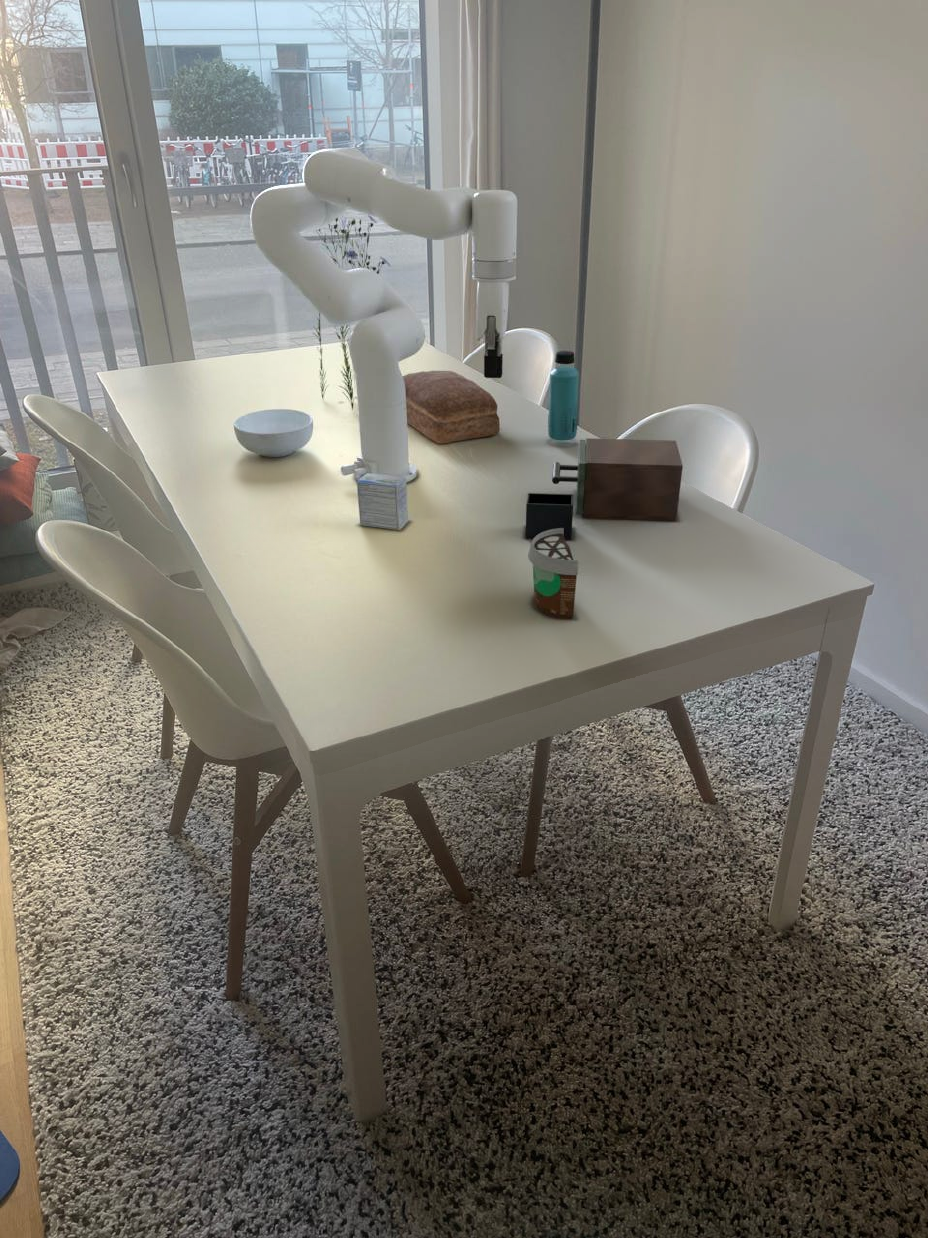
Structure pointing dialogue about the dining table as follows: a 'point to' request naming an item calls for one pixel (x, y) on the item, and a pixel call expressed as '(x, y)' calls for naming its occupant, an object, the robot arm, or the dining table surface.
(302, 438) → the cereal bowl
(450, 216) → the robot arm
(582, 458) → the drawer
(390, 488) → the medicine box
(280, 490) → the dining table surface
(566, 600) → the food container
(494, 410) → the bread
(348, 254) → the wildflower
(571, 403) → the beverage bottle
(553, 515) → the dark glass display case
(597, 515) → the cabinet
